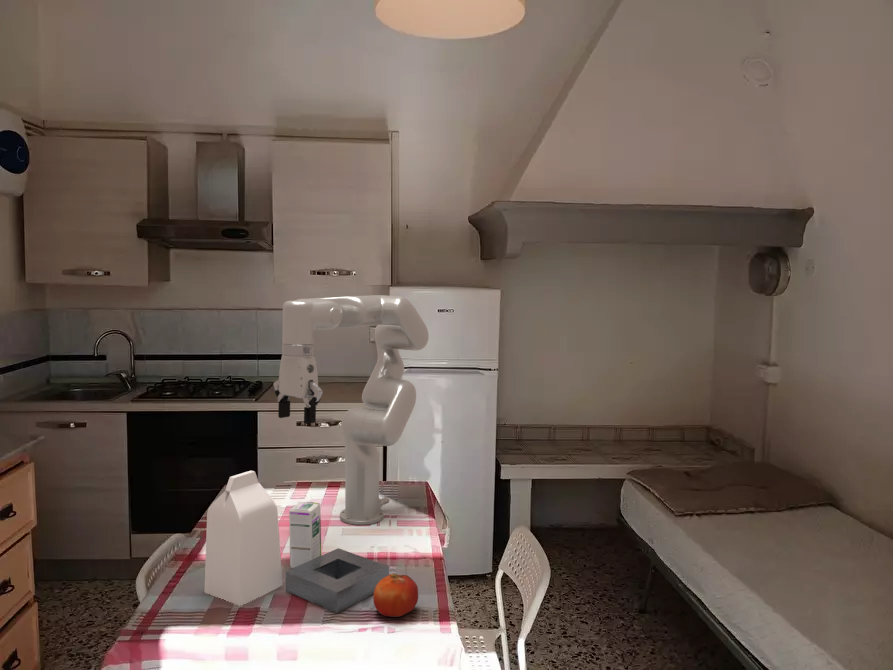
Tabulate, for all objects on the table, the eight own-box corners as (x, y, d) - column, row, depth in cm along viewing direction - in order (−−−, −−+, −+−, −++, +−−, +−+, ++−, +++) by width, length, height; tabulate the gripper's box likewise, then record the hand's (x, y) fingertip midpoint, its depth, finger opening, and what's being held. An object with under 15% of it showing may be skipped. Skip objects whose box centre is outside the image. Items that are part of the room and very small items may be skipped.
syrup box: (312, 570, 162) (312, 510, 161) (289, 567, 163) (288, 508, 162) (321, 560, 168) (321, 502, 166) (299, 558, 169) (298, 500, 167)
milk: (240, 607, 144) (239, 486, 142) (204, 592, 150) (202, 476, 148) (282, 585, 154) (281, 472, 152) (247, 572, 161) (245, 463, 158)
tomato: (369, 622, 139) (370, 584, 138) (376, 600, 148) (377, 564, 147) (415, 624, 138) (416, 586, 138) (419, 602, 148) (420, 566, 147)
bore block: (338, 566, 164) (338, 548, 164) (388, 585, 155) (388, 566, 154) (285, 590, 152) (285, 571, 151) (337, 613, 142) (337, 592, 142)
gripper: (333, 353, 166) (332, 423, 168) (287, 347, 177) (286, 413, 178) (309, 355, 161) (308, 427, 162) (263, 349, 171) (262, 417, 173)
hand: (296, 420), depth 170 cm, fingers open, 9 cm apart
